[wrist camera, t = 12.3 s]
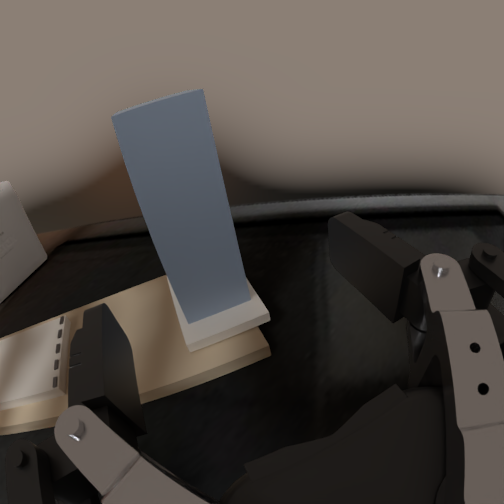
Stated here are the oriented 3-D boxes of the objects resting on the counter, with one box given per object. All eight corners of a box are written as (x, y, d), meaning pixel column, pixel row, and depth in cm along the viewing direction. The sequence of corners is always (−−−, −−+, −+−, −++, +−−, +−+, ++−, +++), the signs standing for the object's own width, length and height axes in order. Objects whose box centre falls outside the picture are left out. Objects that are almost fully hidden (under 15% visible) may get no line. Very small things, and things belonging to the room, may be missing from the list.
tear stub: (190, 352, 16) (96, 124, 9) (169, 283, 22) (109, 114, 15) (270, 320, 17) (224, 85, 10) (231, 260, 23) (190, 88, 16)
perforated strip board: (-34, 438, 11) (-50, 426, 10) (-17, 354, 19) (-29, 341, 18) (271, 355, 17) (266, 335, 16) (219, 265, 25) (214, 246, 24)
